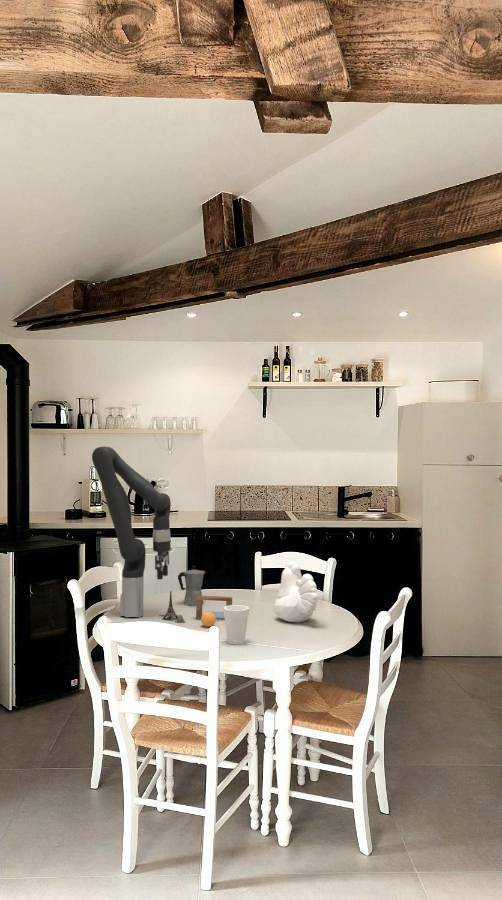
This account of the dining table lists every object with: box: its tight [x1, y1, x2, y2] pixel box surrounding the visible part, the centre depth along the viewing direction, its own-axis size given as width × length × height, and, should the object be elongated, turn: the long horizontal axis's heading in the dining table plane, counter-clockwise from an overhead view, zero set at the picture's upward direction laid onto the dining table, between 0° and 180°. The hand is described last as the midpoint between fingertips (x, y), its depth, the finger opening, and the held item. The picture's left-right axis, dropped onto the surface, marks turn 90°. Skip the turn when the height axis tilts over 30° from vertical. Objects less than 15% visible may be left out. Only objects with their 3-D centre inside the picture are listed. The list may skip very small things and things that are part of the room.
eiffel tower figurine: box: [158, 590, 186, 624], centre depth 307 cm, size 15×10×13 cm
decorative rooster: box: [273, 560, 319, 623], centre depth 303 cm, size 25×16×25 cm, turn 16°
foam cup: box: [223, 604, 250, 646], centre depth 271 cm, size 10×9×13 cm
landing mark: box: [206, 610, 225, 620], centre depth 314 cm, size 12×12×1 cm
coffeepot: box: [177, 565, 206, 607], centre depth 335 cm, size 15×9×18 cm, turn 129°
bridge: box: [195, 595, 233, 621], centre depth 306 cm, size 3×15×10 cm, turn 82°
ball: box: [200, 611, 217, 628], centre depth 294 cm, size 6×6×6 cm
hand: (162, 577), depth 309 cm, fingers open, 8 cm apart
